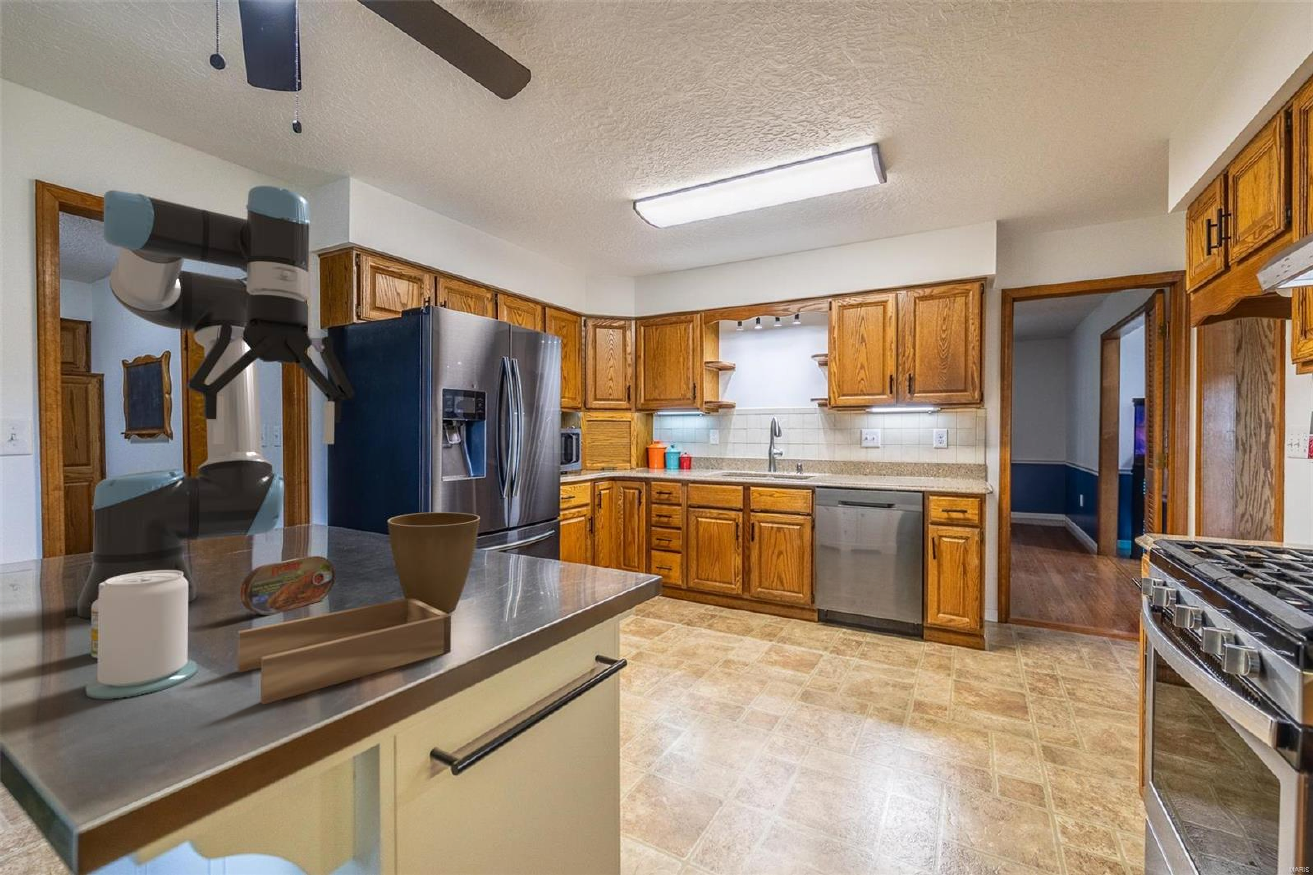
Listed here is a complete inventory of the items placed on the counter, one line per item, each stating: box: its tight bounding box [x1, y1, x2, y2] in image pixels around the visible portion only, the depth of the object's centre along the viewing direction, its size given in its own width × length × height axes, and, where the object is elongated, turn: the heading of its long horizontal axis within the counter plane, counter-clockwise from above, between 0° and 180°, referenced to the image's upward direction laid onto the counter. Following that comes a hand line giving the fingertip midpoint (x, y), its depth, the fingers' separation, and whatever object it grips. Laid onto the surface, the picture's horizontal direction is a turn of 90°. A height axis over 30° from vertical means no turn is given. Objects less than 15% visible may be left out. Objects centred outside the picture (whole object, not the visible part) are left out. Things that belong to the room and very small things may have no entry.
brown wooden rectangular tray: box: [237, 597, 452, 705], centre depth 75 cm, size 13×22×5 cm, turn 137°
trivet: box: [85, 659, 198, 700], centre depth 69 cm, size 10×10×1 cm
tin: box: [240, 555, 336, 616], centre depth 98 cm, size 15×3×8 cm, turn 155°
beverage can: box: [97, 570, 189, 686], centre depth 69 cm, size 8×8×12 cm
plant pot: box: [387, 511, 481, 614], centre depth 98 cm, size 15×15×16 cm
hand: (276, 444), depth 82 cm, fingers open, 13 cm apart
